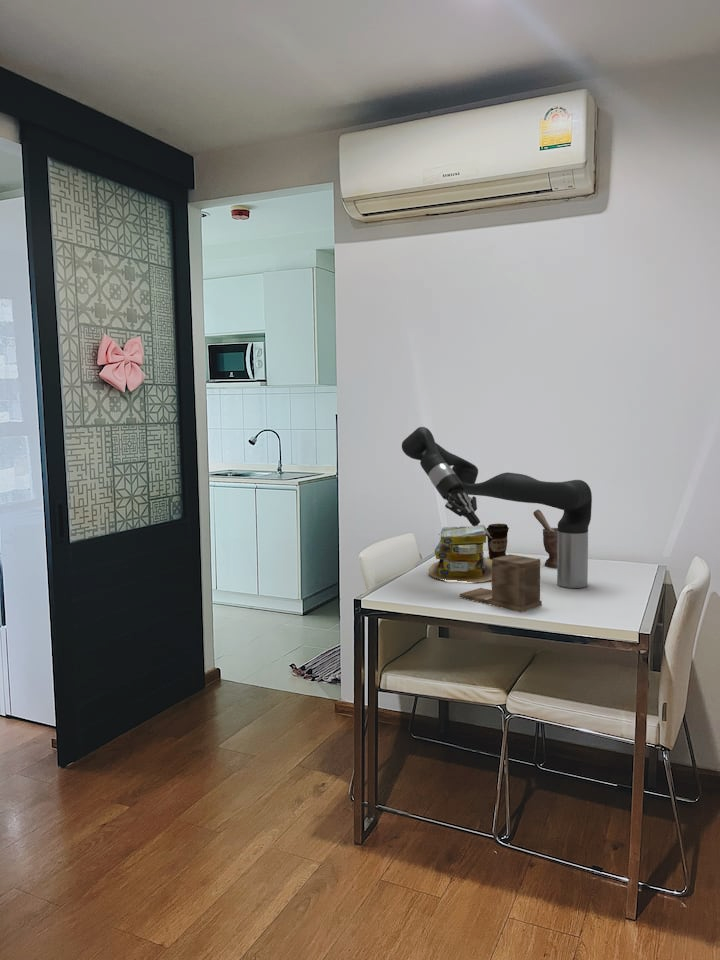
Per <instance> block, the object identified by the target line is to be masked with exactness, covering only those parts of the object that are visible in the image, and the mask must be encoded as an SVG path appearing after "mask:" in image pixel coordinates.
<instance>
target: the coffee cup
mask: <svg viewBox="0 0 720 960" xmlns="http://www.w3.org/2000/svg"><path fill="white" fill-rule="evenodd" d="M486 529H487V531H488V532H489V534H490V536H491V537H492V538H488V537H487V536H486V539H487V550H488V559H490V560H492V559H493V558H497V557H501V556H505V555H507V552H506V551H507V547H508V533H509V530H510V528H509V527H508V524H505V523H492V524H488V526H487V527H486Z"/></svg>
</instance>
